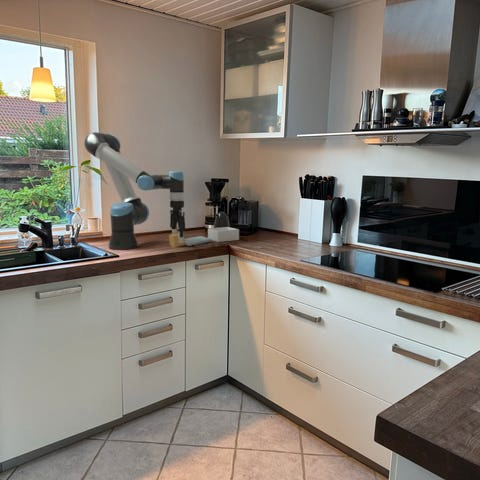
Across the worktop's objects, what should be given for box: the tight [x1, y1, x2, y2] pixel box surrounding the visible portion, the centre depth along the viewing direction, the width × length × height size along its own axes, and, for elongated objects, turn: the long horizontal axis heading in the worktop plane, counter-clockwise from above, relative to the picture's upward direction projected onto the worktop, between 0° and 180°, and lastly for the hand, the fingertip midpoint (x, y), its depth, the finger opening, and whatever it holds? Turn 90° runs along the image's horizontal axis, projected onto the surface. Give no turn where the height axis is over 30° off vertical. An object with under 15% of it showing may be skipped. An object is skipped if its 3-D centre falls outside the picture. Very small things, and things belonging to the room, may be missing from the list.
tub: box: [207, 227, 240, 243], centre depth 256 cm, size 14×12×7 cm
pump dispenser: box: [213, 211, 231, 228], centre depth 273 cm, size 10×10×15 cm
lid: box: [168, 232, 212, 248], centre depth 245 cm, size 21×13×7 cm, turn 122°
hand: (177, 241), depth 241 cm, fingers open, 7 cm apart
